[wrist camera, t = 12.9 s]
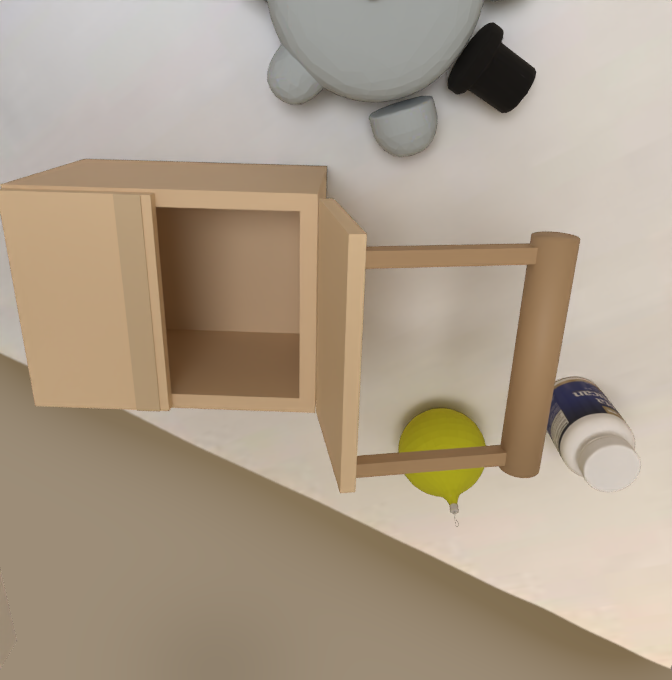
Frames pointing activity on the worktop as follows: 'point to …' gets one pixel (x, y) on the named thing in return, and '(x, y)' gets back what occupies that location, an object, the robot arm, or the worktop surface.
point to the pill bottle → (592, 435)
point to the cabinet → (168, 283)
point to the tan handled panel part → (346, 345)
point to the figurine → (393, 60)
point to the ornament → (437, 434)
